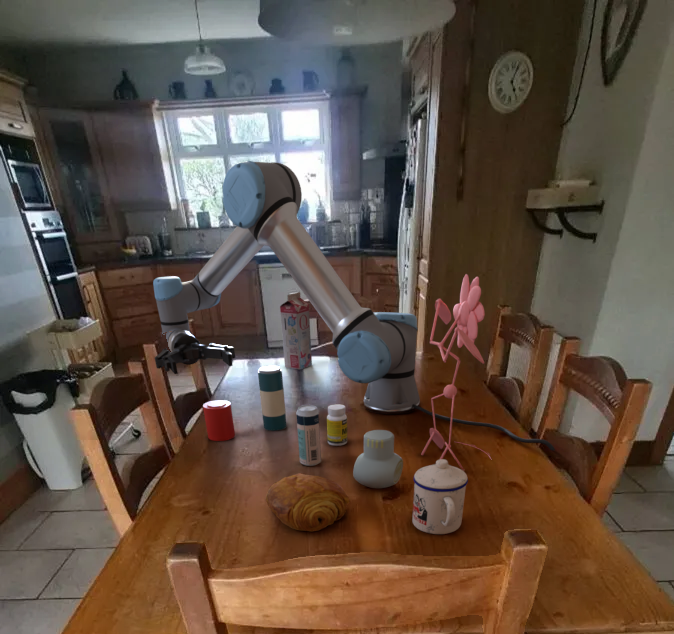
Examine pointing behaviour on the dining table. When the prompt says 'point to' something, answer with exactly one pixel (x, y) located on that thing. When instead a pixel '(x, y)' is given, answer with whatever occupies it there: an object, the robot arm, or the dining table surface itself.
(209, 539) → the dining table surface
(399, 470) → the air freshener
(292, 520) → the croissant
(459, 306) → the figurine
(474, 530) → the dining table surface
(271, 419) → the spray can
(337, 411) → the supplement bottle
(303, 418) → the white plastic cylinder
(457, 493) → the teacup with lid
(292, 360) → the juice carton
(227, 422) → the cap
